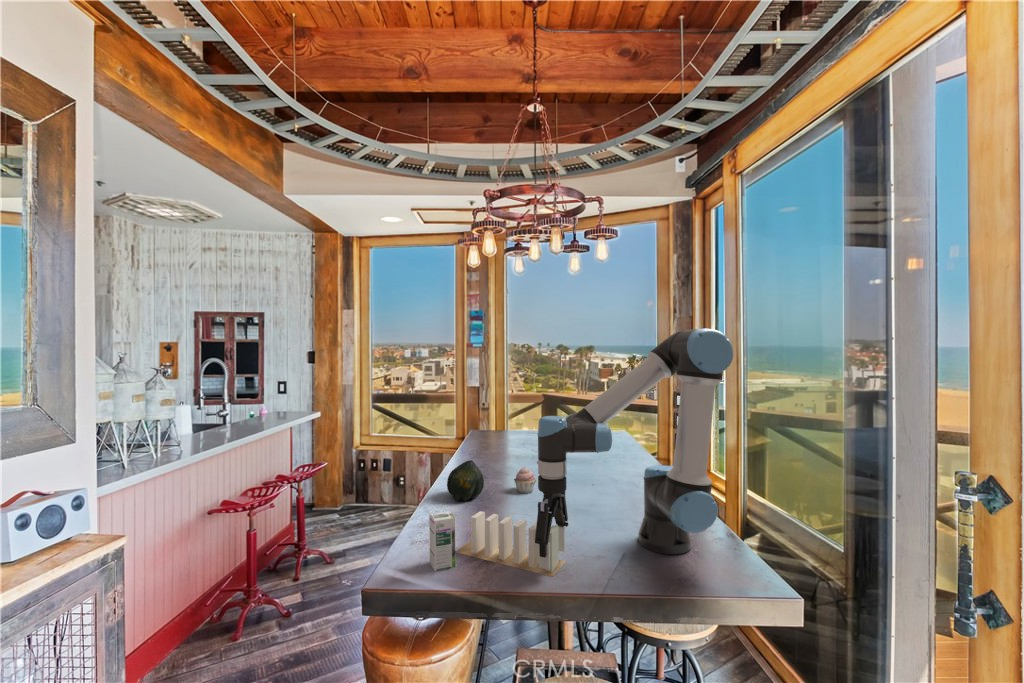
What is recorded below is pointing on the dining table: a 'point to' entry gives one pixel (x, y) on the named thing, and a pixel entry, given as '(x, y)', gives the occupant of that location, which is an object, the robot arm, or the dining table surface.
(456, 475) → the squash
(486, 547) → the domino
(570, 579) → the dining table surface
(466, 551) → the board
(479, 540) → the domino
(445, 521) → the syrup box
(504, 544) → the domino
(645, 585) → the dining table surface
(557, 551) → the domino
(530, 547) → the domino
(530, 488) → the cupcake
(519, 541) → the domino
